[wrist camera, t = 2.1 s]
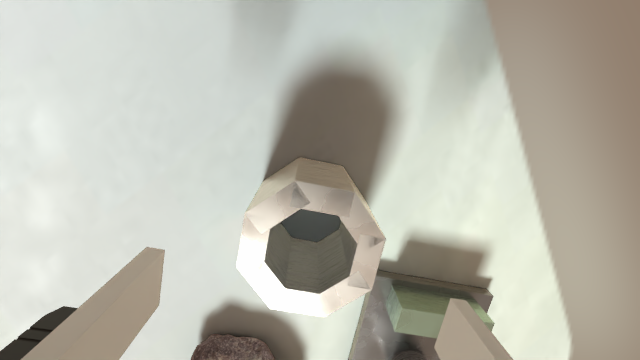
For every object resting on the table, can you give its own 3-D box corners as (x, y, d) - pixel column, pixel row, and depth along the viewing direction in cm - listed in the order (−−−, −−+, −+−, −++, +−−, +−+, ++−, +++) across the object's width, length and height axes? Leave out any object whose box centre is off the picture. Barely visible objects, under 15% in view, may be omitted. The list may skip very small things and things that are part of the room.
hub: (268, 150, 24) (251, 172, 17) (372, 171, 24) (396, 200, 18) (251, 248, 26) (230, 302, 19) (349, 265, 26) (362, 323, 19)
